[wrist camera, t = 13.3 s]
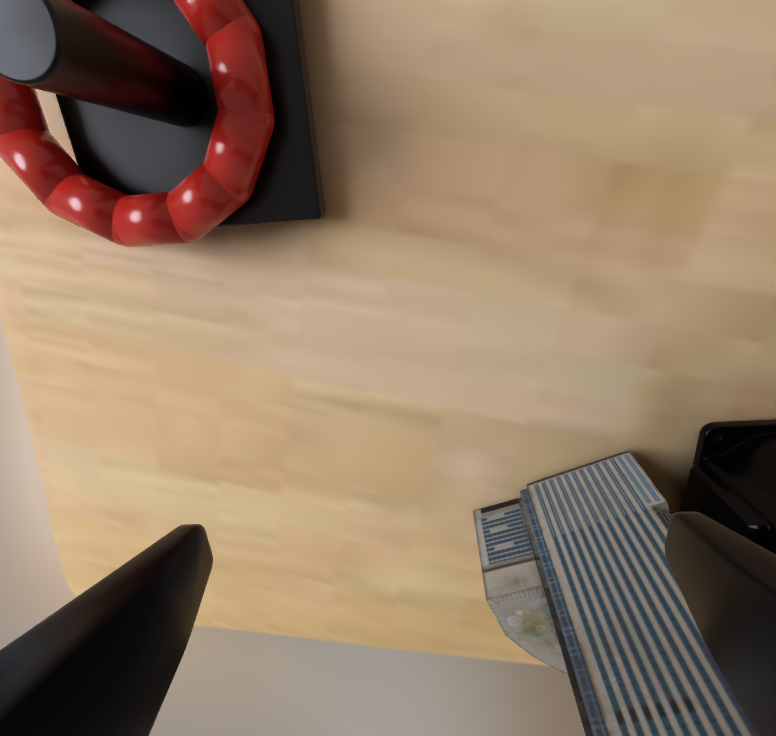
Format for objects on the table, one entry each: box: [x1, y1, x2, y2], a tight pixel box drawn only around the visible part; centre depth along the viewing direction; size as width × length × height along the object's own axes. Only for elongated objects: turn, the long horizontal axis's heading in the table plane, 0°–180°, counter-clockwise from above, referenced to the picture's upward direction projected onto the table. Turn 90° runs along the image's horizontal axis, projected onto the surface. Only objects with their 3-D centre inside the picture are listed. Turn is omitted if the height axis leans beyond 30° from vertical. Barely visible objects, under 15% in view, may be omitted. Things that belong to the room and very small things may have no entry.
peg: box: [0, 0, 325, 227], centre depth 13 cm, size 9×9×8 cm
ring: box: [0, 0, 275, 247], centre depth 15 cm, size 10×10×2 cm
